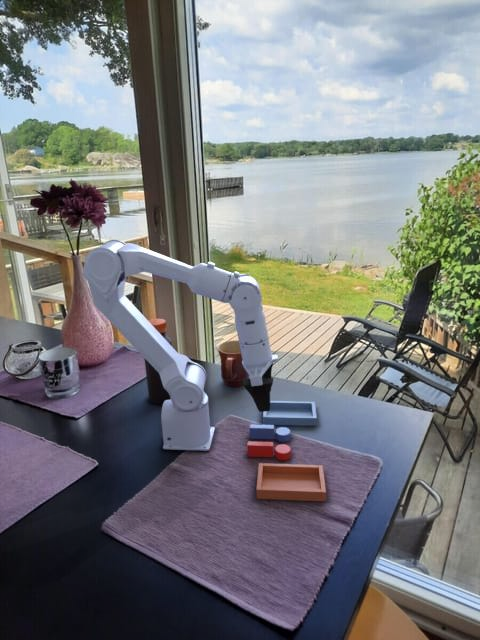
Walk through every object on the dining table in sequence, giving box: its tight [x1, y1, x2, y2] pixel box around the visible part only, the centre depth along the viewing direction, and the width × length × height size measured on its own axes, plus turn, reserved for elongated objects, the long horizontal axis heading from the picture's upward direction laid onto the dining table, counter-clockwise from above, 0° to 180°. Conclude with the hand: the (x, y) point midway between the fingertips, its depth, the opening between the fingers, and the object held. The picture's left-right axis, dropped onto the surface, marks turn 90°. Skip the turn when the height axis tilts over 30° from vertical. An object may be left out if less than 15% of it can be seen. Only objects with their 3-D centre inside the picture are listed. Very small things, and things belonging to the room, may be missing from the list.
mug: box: [216, 339, 250, 389], centre depth 112 cm, size 12×9×10 cm
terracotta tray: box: [255, 462, 327, 502], centre depth 77 cm, size 12×7×2 cm, turn 85°
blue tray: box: [262, 400, 318, 427], centre depth 99 cm, size 12×7×2 cm, turn 85°
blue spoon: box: [249, 424, 291, 443], centre depth 91 cm, size 8×3×3 cm, turn 85°
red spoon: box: [246, 441, 292, 461], centre depth 85 cm, size 8×3×3 cm, turn 85°
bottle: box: [143, 318, 173, 405], centre depth 106 cm, size 7×7×20 cm
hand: (265, 400), depth 89 cm, fingers open, 7 cm apart
